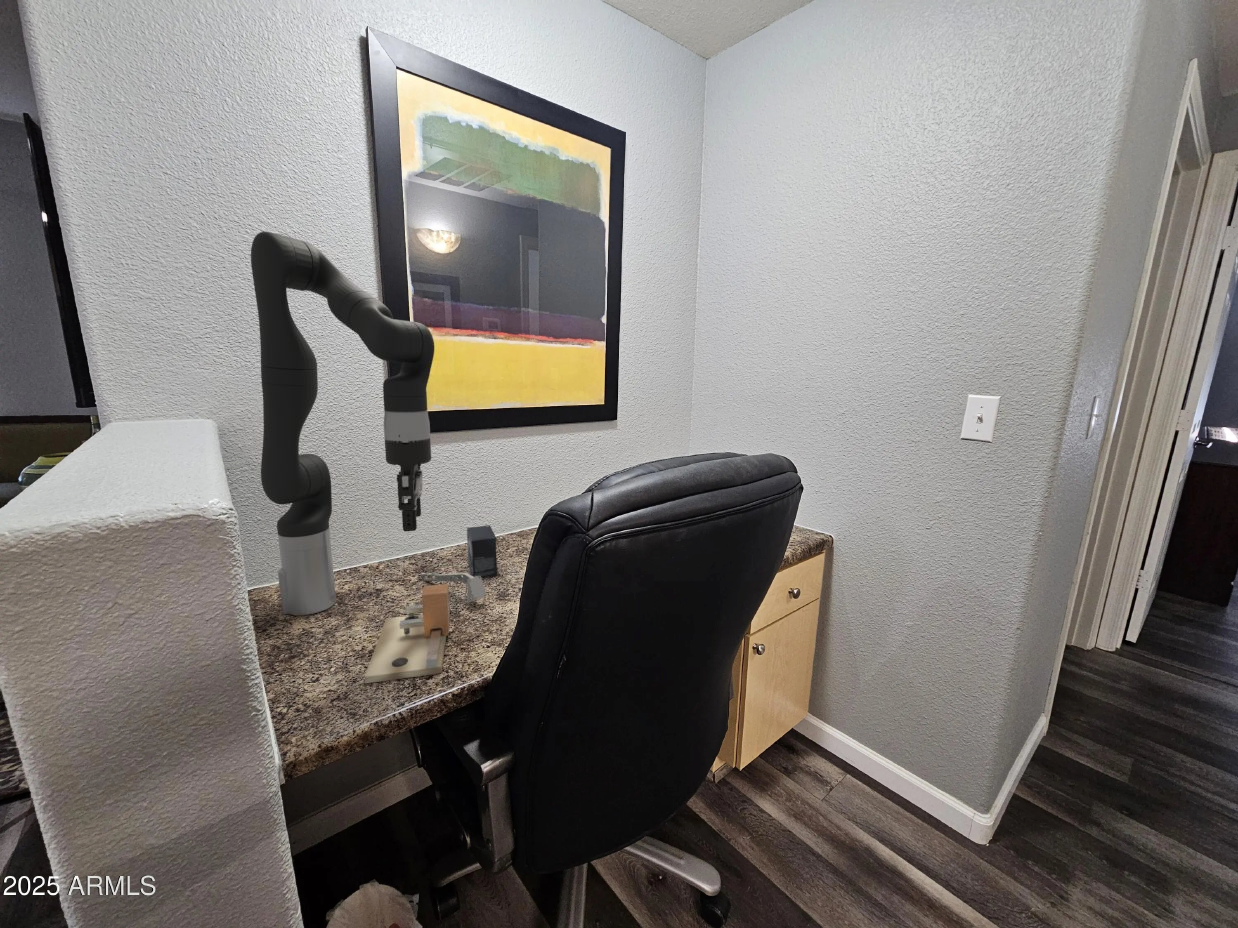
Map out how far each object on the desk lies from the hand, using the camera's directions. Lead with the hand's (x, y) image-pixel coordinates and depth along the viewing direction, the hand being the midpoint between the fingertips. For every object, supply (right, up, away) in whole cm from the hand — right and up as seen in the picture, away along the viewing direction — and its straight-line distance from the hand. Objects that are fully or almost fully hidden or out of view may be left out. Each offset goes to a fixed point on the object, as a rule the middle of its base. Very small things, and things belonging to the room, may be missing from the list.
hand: (412, 523), depth 90 cm
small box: (+2, -17, +38) cm, 41 cm away
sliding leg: (+1, -22, +4) cm, 22 cm away
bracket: (-2, -20, +25) cm, 32 cm away
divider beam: (+1, -22, +2) cm, 22 cm away
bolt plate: (-1, -24, +2) cm, 24 cm away
